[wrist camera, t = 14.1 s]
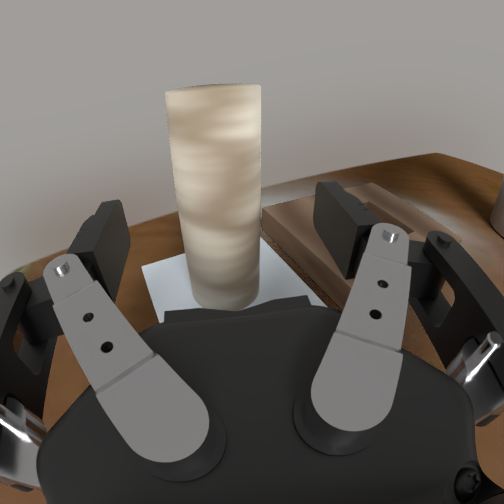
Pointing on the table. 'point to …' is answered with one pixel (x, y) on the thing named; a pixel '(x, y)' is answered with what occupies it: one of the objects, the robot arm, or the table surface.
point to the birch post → (218, 189)
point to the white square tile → (180, 292)
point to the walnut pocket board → (312, 247)
